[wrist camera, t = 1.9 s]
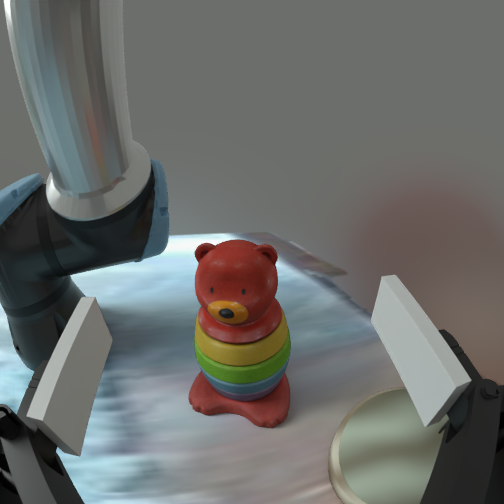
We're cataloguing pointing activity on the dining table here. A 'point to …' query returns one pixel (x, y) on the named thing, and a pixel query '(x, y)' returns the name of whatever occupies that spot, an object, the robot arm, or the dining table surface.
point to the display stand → (383, 451)
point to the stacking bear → (240, 334)
